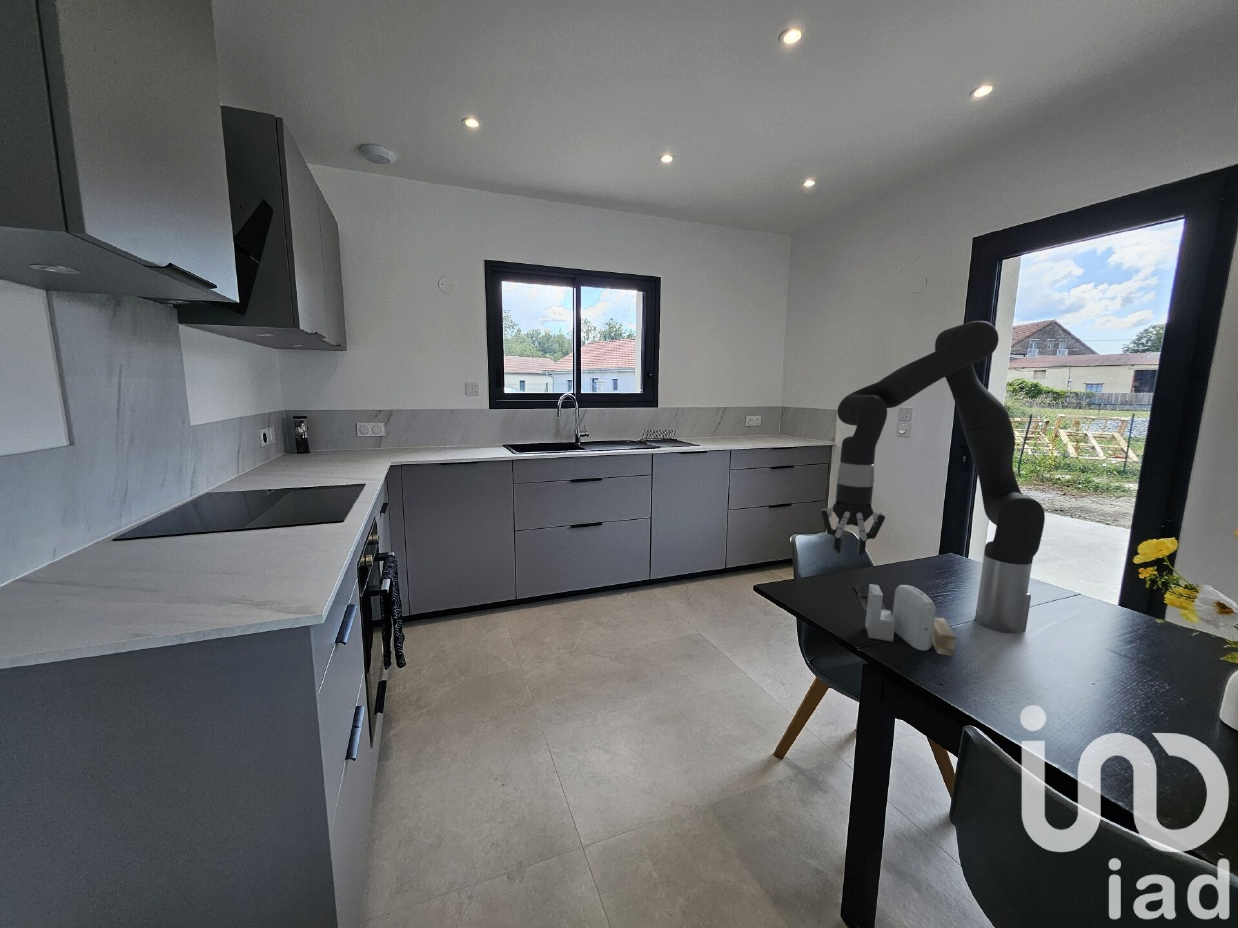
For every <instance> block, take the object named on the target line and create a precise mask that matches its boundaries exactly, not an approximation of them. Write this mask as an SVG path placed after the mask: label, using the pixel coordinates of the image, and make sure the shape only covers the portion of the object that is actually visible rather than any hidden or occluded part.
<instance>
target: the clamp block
mask: <svg viewBox="0 0 1238 928" xmlns="http://www.w3.org/2000/svg"><path fill="white" fill-rule="evenodd" d="M956 638H957V637H956V635H955V633H954V632H953V630H952V629H951V627H950V625H949V624H948V622H947V621H946V619H945V618H942V617H937V616H935V621H934V629H933V637H932V644H931V645H932V646H933V647H934V650H935V651H936V653H937V654H939V655H944V656H945V655H946V656H950V657H952V656H953V657H954V653H955V646H956V640H957V639H956Z"/></svg>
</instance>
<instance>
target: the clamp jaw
mask: <svg viewBox="0 0 1238 928" xmlns="http://www.w3.org/2000/svg"><path fill="white" fill-rule="evenodd" d="M868 585H869V586H868V594H867V595H868V597H867V604H866V605H867V610H866V613H865V615H866V616H865V623H864V626H865V629H866V633H867V637H868V638H869V639H876V640H882V641H887V642H892V643H893V642H894V637H895V636H894V635H895V632H894V627H895V621H894V618H893V616H892V615H893V613H892V611H891V610H888V609H887V610H883V609H882V601H883V597H884V596H883V594H884V593H883V592H882V590H881V588H880V586H879V585H878V584H872V583H871V584H870V583H869V584H868ZM882 593H883V594H882Z"/></svg>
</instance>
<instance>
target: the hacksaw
mask: <svg viewBox="0 0 1238 928" xmlns="http://www.w3.org/2000/svg"><path fill="white" fill-rule="evenodd" d="M852 589H854V591H855V590H856V591H855V592H857V593H856V595H857V597H858V600H859V602H860V604H861V606H862V609H863V611H864V610H866V611H867V604H866V601H865V599H864V598H868V594H863V593H862V590H863V588H862V586H860V585H857V584H856V585H853V587H852ZM882 594H883V597H885V594H884V593H883V592H882ZM862 601H863V602H862ZM882 610H888V608H887V607H886V605H885V603H884V601H883V600H882Z"/></svg>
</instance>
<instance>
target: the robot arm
mask: <svg viewBox="0 0 1238 928" xmlns="http://www.w3.org/2000/svg"><path fill="white" fill-rule="evenodd" d="M998 344H999V333H998V330H997V328H996V327H995V325H993V324H991V323H990V322H989V321H986V320H985V321H984V320H975V321H974V320H973V321H969V322H966V323H963V324H959V325H957V326H953V327H950V328H947V329H945V330H943V331H941V332H940V333H939V334H938V335H937V337H936V339H935V342H934V351H933V352H931V353H929V354H927V355H924V356H923V357H920V358H919V359H916V360H914V361H912V362H910V363H907V364H905V365H904V366H902V367H900V368H897V369H896V370H894V371H892V372H891V373H889V374H888V375H887V376H884V377H883V378H882V379H880V380H878V381H876V382H875V383H872V384H870V385H869V384H868V385H866V386H864V387H862V388H860V389H857V390H855V391H853V392H851V393H849V394H847V395H846V396H845V397H843V399H842V400H841V401H840V403H839V405H838V406H837V411H836V412H837V413H836V414H837V416H838V419H839V420H840V421H841V422H842V423H844V424H846V425H849V426H855V429H854V430H855V431H854V433H853V435H851V436H846V437H844V439H842V442H841V449H840V460H839V467H838V471H837V478H836V479H837V480H836V481H837V482H836V491H835V502H834V504H833V505H832V507H827V508H825V507H822V508H821V509H820V512H821V516H822V520H823V523H824V526H825V531H826V533H827V534H828V535H831V536H833V538H834V539H833V549H834V551H836V553H837V554H840V553H841V549H842V548H841V547H842V537H841V536H842V534H843V531H844V530H845V527H846V526H854V527H855V526H856V527H857V528H858V529H857V530H858V532H859V533H858V534H859V537H858V539H857V540H858V541H857V542H858V543H857V552H856V553H857V556H862V555H863V554H865V553H866V548H867V547H866V546H867V541H868V540H871V539H872V540H875V539H876V538H877V535H878V533H879V532H880V530H881V528H882V525H883V524H884V523H885V519H886V516H885V515H884V513H882V512H876V511H874V510H873V508H872V501H873V491H874V484H875V457H876V447H877V444H878V442H879V440H880V438H881V437H880V436H881V435H882V432H883V430H884V426H885V424H886V421H887V417H888V409H891V408H892V409H894V408H896V407H898V406H900V405H902V404H903V403H905V402H907V401H908V400H910V399H911V398H913V397H914V396H916V395H918V394H919V393H920V392H921V391H923V390H925V389H927V388H928V387H930V386H932V385H933V384H935V383H937V382H938V381H941V380H942V379H944V378H945V380H946V382H947V384H948V387H949V389H950V392H951V395H952V398H953V400H954V403H955V407H956V409H957V412H958V416H959V419H960V423H961V428H962V431H963V435H964V437H965V442H966V444H967V446H968V449H969V453H970V456H971V459H972V462H973V465H974V467H975V470H976V473H977V476H978V480H979V485H980V491H981V497H982V505H983V510H984V512H985V513H984V514H985V516H986V517H987V519H988V520H989V521H990V522H991V523H993V524H994V525H995V527H996V528H995V532H994V537H993V539H992V541H987V543H985V545H984V551H983V559H982V565H981V572H980V580H979V589H978V594H977V602H976V609H975V615H974V618H975V621H976V622H977V623H978V624H980V625H982V626H983V627H986V628H989V629H992V630H995V631H999V632H1002V633H1021V632H1022V633H1026V630H1027V625H1028V618H1029V614H1030V613H1029V611H1030V605H1031V600H1032V599H1031V598H1032V595H1031V594H1030V593H1029V587H1030V586H1029V585H1030V579H1031V573H1032V567H1033V565H1032V564H1033V560H1034V557H1035V555H1037V553H1038V551H1039V550H1040V549H1039V548H1040V545H1041V541H1042V536H1043V532H1044V526H1045V519H1046V515H1045V514H1046V513H1045V510H1044V507H1043V505H1042V503H1040V502H1039V501H1038V500H1036V499H1034V498H1033V497H1031V496H1028V495H1025V494H1023V493H1022V491H1021V489H1020V487H1019V484H1018V482H1017V479H1016V476H1015V472H1014V466H1013V465H1014V462H1013V461H1014V454H1015V447H1016V437H1015V431H1014V428H1013V424H1012V422H1011V418H1010V414H1009V412H1008V410H1007V409H1006V407H1005V406H1004V404H1003V403H1002V402H1001V401H1000V400H999V399H997V397H996V396H994V394H992V392H990V391H989V390H988V389H987V388H986V386H984V385H983V383H982V382H981V381H980V379H979V377H978V376H977V375H978V374H977V373H976V370H975V368H974V363H976V362H977V363H978V362H980V361H983V360H984V359H987V358H988V357H990V356H991V355H992V354H993V353H994V352H995V351H996V350H997V347H998ZM833 513H834V514H835V516H836V517H837V519H838V520H837V523H836V527H835V528H832V524H831V522H830V518H832V514H833ZM871 517H872V520H873V523H872V525H871V527H870V529H869V531H867V532H866V526H865V522H866V521H868V520H869V519H870V518H871Z"/></svg>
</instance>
